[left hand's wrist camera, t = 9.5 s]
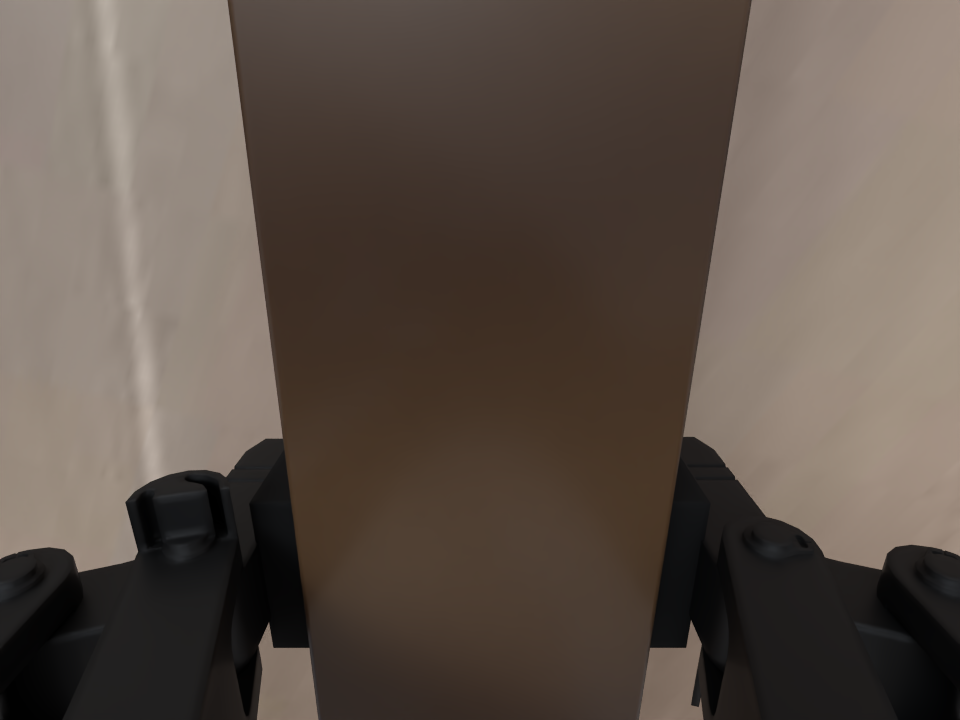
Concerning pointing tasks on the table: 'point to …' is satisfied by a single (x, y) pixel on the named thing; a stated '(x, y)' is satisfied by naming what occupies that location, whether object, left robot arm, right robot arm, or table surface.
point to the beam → (484, 330)
